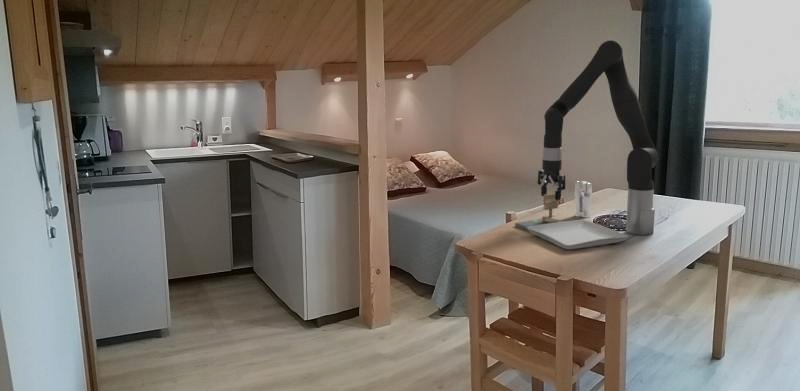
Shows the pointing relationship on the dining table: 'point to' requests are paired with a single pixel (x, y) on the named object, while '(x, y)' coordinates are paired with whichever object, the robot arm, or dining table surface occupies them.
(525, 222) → the tuning board
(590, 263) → the dining table surface
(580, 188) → the beer glass
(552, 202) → the knob
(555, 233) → the square plate
